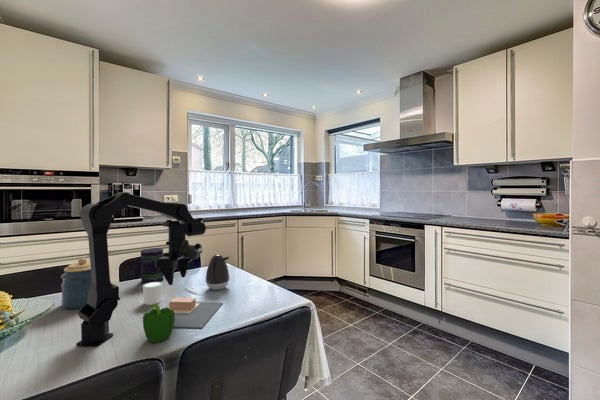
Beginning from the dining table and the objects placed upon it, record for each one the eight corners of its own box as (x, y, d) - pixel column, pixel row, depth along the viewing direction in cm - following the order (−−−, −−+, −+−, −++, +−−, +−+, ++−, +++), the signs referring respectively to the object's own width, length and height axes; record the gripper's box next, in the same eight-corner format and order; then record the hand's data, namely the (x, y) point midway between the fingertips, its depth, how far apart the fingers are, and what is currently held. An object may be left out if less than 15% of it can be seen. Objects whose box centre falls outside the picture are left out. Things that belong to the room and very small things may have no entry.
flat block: (169, 309, 103) (169, 301, 103) (174, 305, 107) (174, 297, 107) (190, 310, 103) (190, 302, 103) (195, 306, 107) (195, 298, 107)
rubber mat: (201, 328, 90) (201, 326, 90) (147, 326, 92) (147, 325, 92) (222, 303, 110) (222, 302, 110) (177, 302, 112) (177, 301, 112)
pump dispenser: (224, 292, 122) (223, 257, 122) (201, 291, 124) (201, 256, 123) (233, 285, 132) (233, 252, 132) (212, 284, 134) (211, 251, 133)
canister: (94, 294, 120) (93, 253, 119) (110, 301, 113) (109, 256, 112) (55, 305, 109) (54, 259, 108) (70, 313, 102) (69, 264, 101)
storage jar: (143, 279, 141) (142, 248, 141) (165, 277, 144) (164, 247, 144) (138, 285, 132) (138, 253, 131) (162, 283, 135) (161, 251, 134)
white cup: (154, 306, 108) (154, 287, 108) (138, 304, 110) (138, 286, 109) (166, 299, 115) (166, 282, 115) (151, 298, 116) (151, 281, 116)
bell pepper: (179, 337, 85) (179, 304, 85) (150, 349, 79) (149, 313, 79) (167, 328, 91) (166, 297, 90) (139, 338, 84) (138, 305, 84)
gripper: (186, 243, 94) (187, 290, 94) (208, 234, 112) (208, 274, 113) (154, 242, 94) (154, 289, 95) (181, 234, 113) (181, 273, 113)
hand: (177, 280), depth 104 cm, fingers open, 9 cm apart
